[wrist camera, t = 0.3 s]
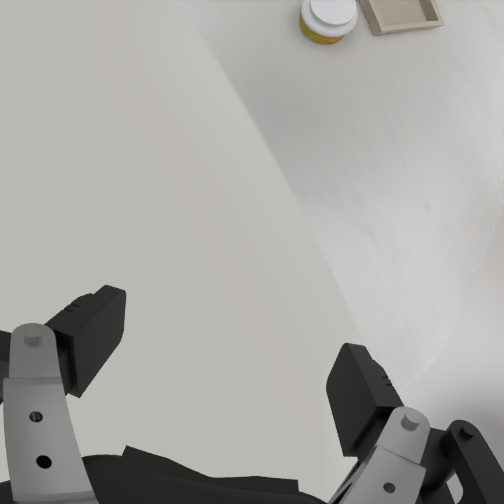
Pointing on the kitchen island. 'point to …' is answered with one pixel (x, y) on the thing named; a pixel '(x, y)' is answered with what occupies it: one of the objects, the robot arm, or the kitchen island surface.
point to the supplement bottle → (327, 19)
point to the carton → (401, 15)
